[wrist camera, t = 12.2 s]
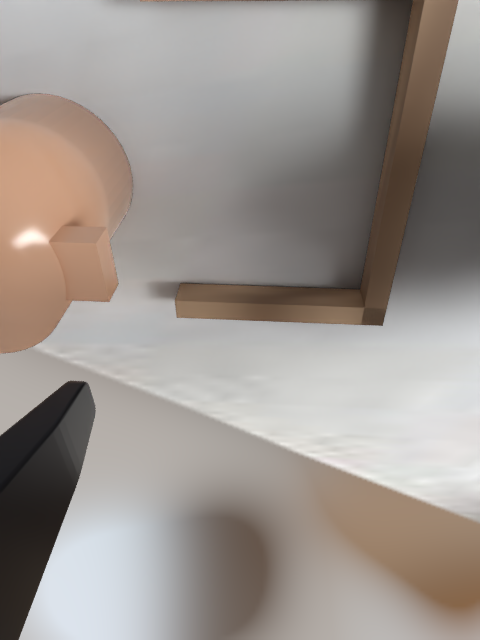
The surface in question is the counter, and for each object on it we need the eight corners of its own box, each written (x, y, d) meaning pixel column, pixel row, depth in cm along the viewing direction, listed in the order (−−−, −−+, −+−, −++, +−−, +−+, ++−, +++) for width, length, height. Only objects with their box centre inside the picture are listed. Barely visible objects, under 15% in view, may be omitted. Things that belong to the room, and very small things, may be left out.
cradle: (453, -43, 14) (468, -43, 13) (377, 306, 23) (382, 325, 22) (146, -39, 15) (135, -40, 14) (182, 299, 23) (176, 317, 22)
